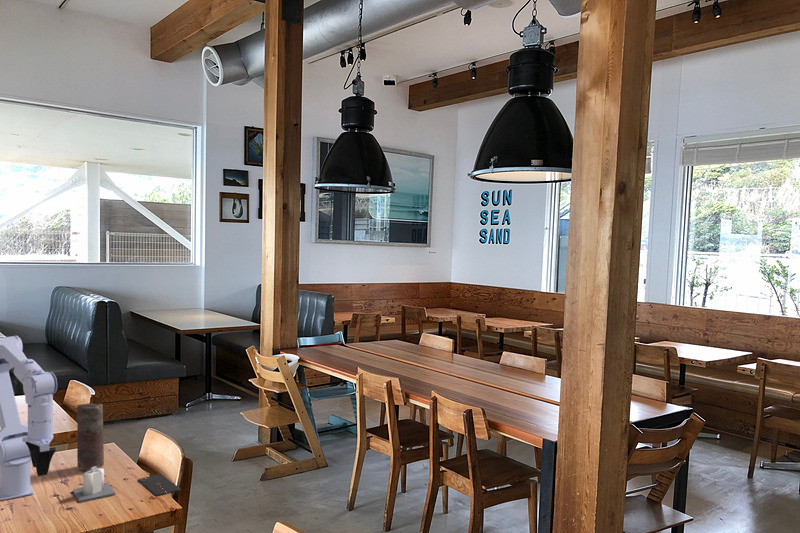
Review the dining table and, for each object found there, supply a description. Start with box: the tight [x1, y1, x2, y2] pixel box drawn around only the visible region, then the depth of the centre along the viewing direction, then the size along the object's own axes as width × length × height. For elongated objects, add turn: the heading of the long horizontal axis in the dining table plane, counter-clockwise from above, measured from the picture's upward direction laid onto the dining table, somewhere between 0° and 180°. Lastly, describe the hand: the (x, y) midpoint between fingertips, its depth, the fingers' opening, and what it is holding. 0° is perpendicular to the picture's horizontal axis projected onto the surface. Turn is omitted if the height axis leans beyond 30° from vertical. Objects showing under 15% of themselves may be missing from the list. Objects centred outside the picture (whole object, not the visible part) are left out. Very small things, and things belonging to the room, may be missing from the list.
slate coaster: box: [72, 482, 116, 503], centre depth 175 cm, size 9×9×1 cm
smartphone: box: [137, 473, 181, 497], centre depth 182 cm, size 7×1×15 cm
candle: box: [76, 403, 105, 473], centre depth 193 cm, size 8×7×20 cm
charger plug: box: [82, 466, 105, 495], centre depth 175 cm, size 3×6×7 cm, turn 154°
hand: (40, 470), depth 165 cm, fingers open, 7 cm apart
